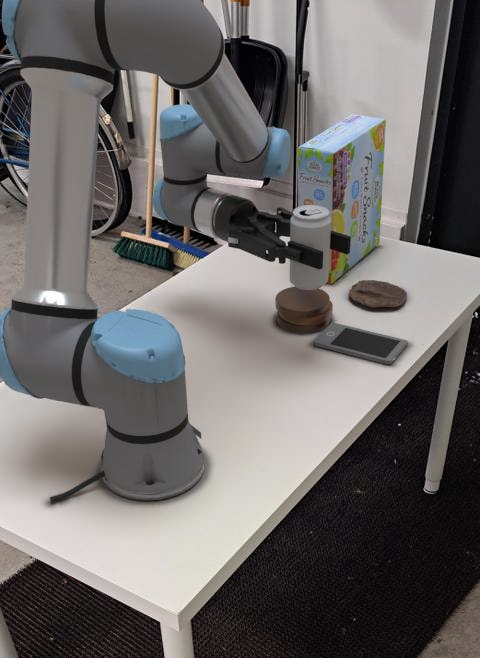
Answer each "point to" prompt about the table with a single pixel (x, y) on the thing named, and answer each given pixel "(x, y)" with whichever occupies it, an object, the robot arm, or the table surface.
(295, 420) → the table surface
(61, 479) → the table surface
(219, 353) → the table surface
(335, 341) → the smartphone
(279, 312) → the chip pile
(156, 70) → the robot arm
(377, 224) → the snack box
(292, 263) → the beverage can
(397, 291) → the rock
